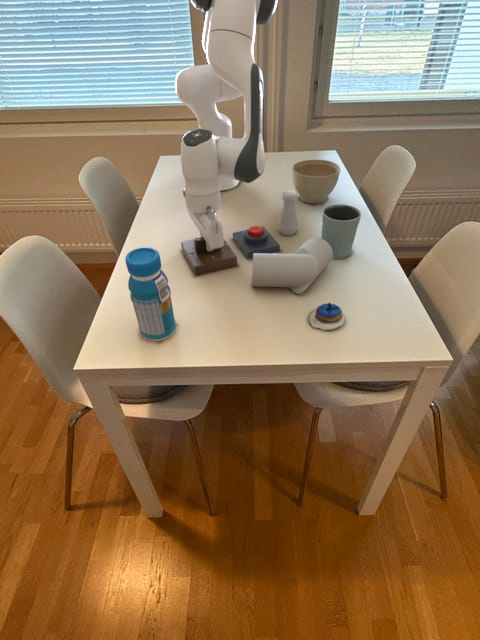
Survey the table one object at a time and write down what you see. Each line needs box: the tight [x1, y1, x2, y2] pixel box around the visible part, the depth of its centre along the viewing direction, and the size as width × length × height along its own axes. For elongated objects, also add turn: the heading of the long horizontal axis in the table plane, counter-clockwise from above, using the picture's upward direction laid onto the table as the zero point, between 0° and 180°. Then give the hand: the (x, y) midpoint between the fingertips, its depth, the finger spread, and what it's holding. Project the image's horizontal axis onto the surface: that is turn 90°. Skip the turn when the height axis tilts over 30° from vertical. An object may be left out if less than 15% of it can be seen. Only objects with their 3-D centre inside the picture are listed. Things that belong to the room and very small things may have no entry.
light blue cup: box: [320, 203, 362, 260], centre depth 111 cm, size 10×10×12 cm
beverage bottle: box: [124, 246, 177, 342], centre depth 85 cm, size 8×8×20 cm
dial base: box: [180, 238, 238, 277], centre depth 113 cm, size 14×12×3 cm
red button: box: [248, 225, 263, 237], centre depth 115 cm, size 4×4×2 cm
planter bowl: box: [291, 158, 342, 204], centre depth 138 cm, size 16×16×11 cm
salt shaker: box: [278, 189, 299, 236], centre depth 119 cm, size 6×6×13 cm
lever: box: [193, 236, 207, 253], centre depth 111 cm, size 7×2×4 cm, turn 111°
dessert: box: [308, 302, 345, 331], centre depth 92 cm, size 8×7×6 cm
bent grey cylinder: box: [252, 236, 334, 294], centre depth 102 cm, size 18×10×20 cm
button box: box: [232, 226, 281, 260], centre depth 117 cm, size 12×10×4 cm
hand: (207, 246), depth 111 cm, fingers closed
